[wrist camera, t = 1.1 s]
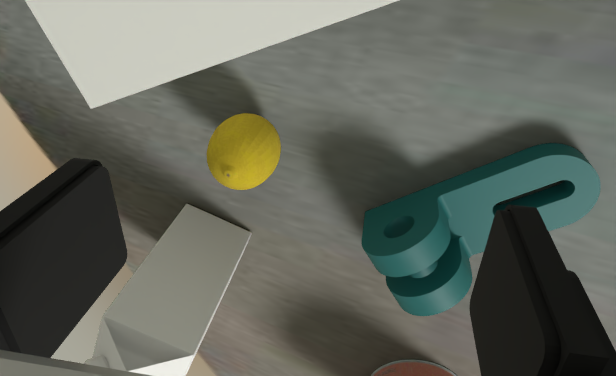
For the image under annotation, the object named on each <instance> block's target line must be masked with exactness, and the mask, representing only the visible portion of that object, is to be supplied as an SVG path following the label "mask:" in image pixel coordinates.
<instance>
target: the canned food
mask: <svg viewBox="0 0 616 376" xmlns="http://www.w3.org/2000/svg"><path fill="white" fill-rule="evenodd" d="M371 376H457V375H456V374H455V373H453V372H452V371H450V370H449V369H447V368H445V367H443V366H441V365H438V364H436V363H432V362H429V361H424V360H413V359H408V360H398V361H394V362H390V363H387V364H385V365H383V366H381V367H379V368H378V369H377V370H375V371H374V372H373V374H372V375H371Z"/></svg>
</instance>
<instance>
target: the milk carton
mask: <svg viewBox="0 0 616 376" xmlns="http://www.w3.org/2000/svg"><path fill="white" fill-rule="evenodd" d="M251 234H252V233H251V232H249V231H247V230H245V229H242V228H240V227H238V226H236V225H234V224H231V223H229V222H227V221H225V220H223V219H220V218H218V217H216V216H214V215H211V214H209V213H207V212H205V211H203V210H200V209H198V208H196V207H194V206H191V205H189V204H186V205H185V206H184V207H183V209H182V210H181V211H180V213H179V214H178V215H177V217H176V218H175V219H174V221H173V222H172V223H171V225H170V226H169V227H168V229H167V230H166V231H165V233H164V234H163V235H162V237H161V238H160V239H159V241H158V242H157V243H156V245H155V246H154V247H153V249H152V250H151V251H150V253H149V254H148V255H147V257H146V258H145V259H144V261H143V262H142V263H141V265H140V266H139V267H138V269H137V270H136V272H135V273H134V274H133V276H132V277H131V278H130V280H129V281H128V282H127V284H126V285H125V286H124V288H123V289H122V290H121V292H120V293H119V294H118V296H117V297H116V298H115V300H114V301H113V302H112V304H111V305H110V306H109V308H108V309H107V310H106V312H105V313H104V315H103V317H102V320H101V324H100V328H99V333H98V337H97V341H96V345H95V349H94V354H93V357H92V358H91V359H88V360H86V361H85V363H84V364H88V365H94V366H100V367H106V368H111V369H117V370H123V371H129V372H135V373H140V374H146V375H152V376H186V374H187V372H188V370H189V367H190V365H191V363H192V360H193V359H194V357H195V355H196V353H197V350H198V348H199V346H200V344H201V342H202V340H203V338H204V335H205V333H206V331H207V329H208V327H209V325H210V323H211V321H212V318H213V316H214V314H215V312H216V310H217V308H218V306H219V304H220V301H221V299H222V297H223V295H224V293H225V291H226V289H227V286H228V284H229V282H230V280H231V278H232V276H233V274H234V271H235V269H236V267H237V265H238V263H239V261H240V258H241V256H242V254H243V252H244V250H245V248H246V245H247V243H248V241H249V239H250V236H251Z"/></svg>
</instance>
